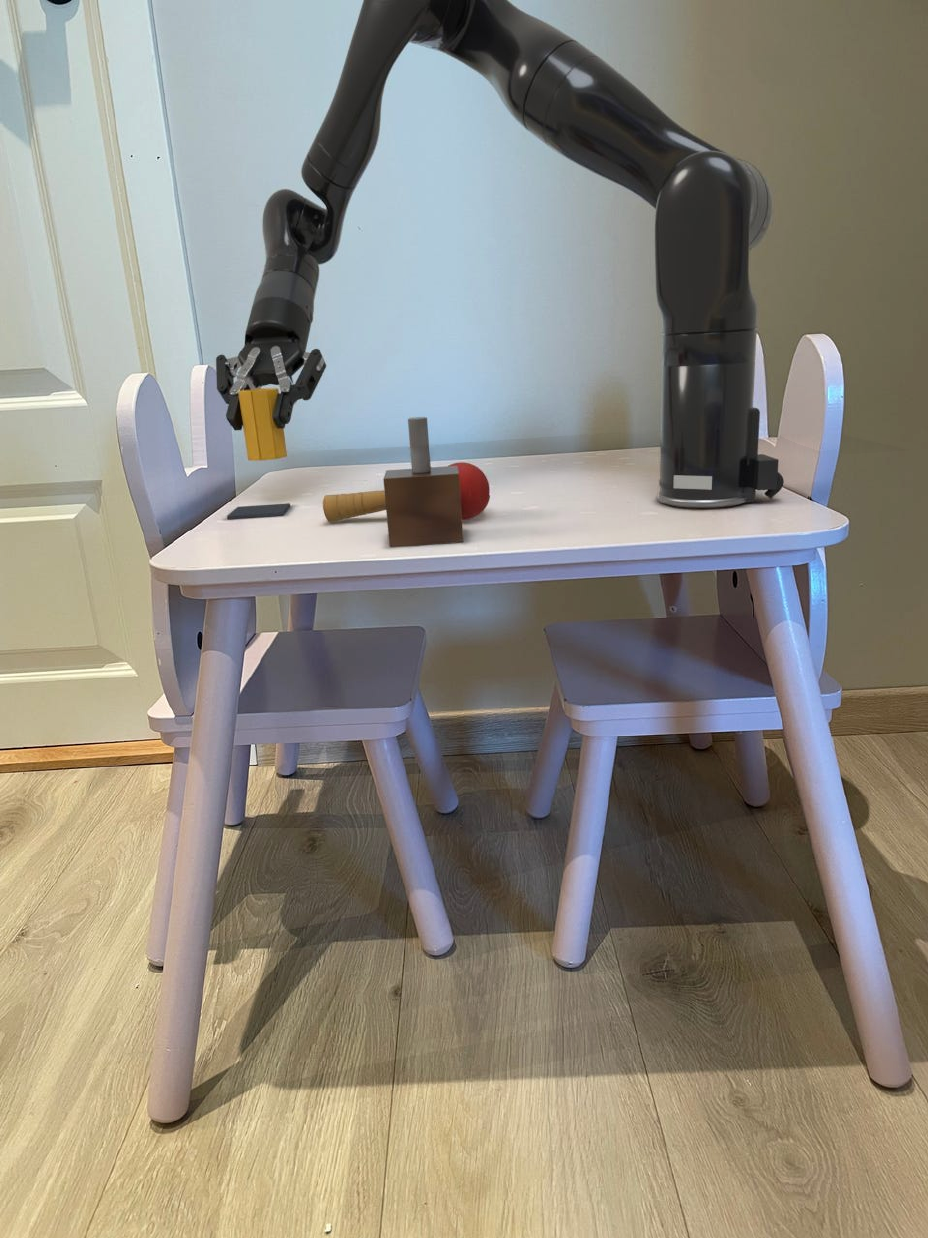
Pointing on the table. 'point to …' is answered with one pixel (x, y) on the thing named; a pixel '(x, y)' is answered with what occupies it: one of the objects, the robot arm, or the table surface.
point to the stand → (422, 497)
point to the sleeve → (261, 425)
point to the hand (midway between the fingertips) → (256, 424)
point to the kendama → (363, 503)
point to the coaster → (259, 511)
